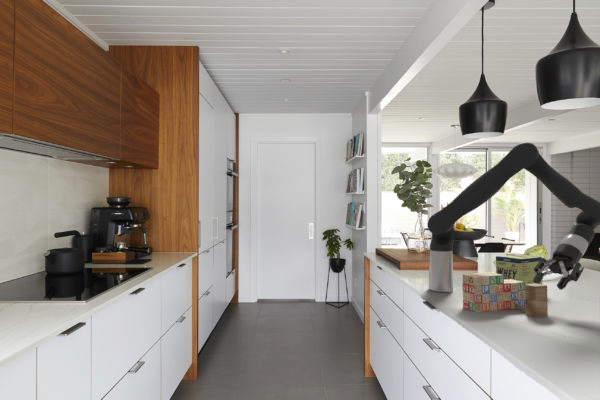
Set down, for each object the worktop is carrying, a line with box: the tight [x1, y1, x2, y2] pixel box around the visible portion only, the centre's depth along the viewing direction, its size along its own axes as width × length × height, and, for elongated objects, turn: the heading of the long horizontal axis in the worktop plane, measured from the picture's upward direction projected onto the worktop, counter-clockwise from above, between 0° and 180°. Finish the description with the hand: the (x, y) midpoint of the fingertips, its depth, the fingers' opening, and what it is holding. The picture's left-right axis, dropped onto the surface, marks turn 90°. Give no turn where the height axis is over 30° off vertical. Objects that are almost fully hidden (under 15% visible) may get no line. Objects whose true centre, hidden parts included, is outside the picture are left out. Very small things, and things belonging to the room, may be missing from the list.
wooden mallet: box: [515, 283, 549, 319], centre depth 130 cm, size 10×5×10 cm, turn 19°
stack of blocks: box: [462, 271, 525, 313], centre depth 137 cm, size 21×6×12 cm, turn 105°
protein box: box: [495, 253, 543, 285], centre depth 159 cm, size 10×16×16 cm
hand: (547, 285), depth 129 cm, fingers open, 8 cm apart
